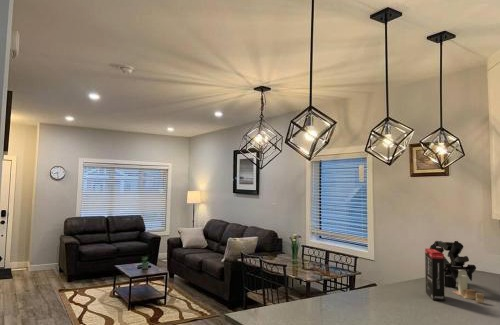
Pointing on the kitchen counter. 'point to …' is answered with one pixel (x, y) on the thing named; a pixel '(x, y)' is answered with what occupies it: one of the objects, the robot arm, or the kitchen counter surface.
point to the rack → (473, 295)
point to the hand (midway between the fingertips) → (463, 279)
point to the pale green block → (462, 283)
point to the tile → (457, 292)
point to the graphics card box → (434, 274)
